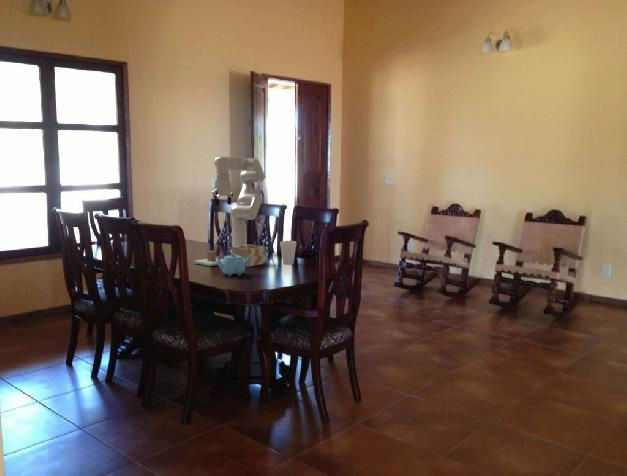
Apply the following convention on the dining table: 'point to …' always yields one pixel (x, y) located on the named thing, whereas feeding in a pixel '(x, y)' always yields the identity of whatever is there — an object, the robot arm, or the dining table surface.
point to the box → (251, 253)
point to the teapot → (233, 264)
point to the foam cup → (288, 251)
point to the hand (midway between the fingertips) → (223, 204)
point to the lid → (209, 259)
